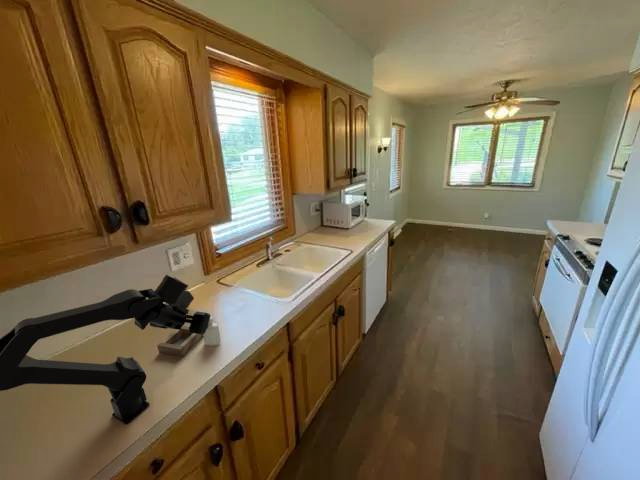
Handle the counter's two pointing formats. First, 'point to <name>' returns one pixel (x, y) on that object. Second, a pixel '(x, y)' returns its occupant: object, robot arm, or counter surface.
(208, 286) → the counter surface
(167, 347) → the socket block
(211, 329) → the eye dropper bottle
